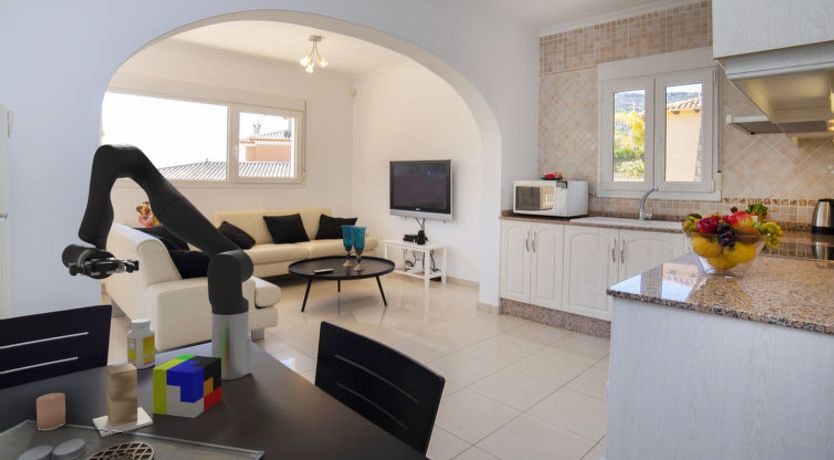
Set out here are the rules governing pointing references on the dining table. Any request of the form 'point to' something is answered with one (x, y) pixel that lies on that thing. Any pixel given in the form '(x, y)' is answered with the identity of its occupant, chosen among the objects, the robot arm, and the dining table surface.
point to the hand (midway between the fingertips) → (111, 270)
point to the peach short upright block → (50, 410)
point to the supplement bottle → (141, 344)
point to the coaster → (104, 424)
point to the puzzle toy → (186, 385)
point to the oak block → (122, 394)
